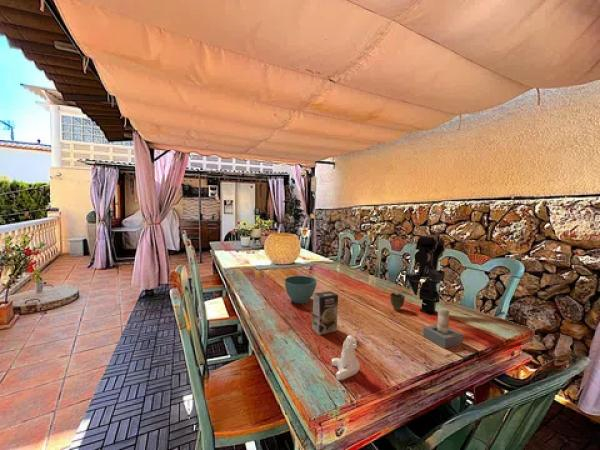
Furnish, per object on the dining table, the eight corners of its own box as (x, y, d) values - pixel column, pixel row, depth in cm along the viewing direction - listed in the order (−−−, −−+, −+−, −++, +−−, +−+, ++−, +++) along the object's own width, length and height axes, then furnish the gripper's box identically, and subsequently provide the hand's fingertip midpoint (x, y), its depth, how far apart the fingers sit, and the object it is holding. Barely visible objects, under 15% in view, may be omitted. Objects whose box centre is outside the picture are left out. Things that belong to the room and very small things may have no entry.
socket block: (440, 332, 113) (440, 323, 112) (462, 343, 104) (462, 334, 103) (423, 336, 109) (423, 327, 109) (444, 348, 100) (445, 338, 99)
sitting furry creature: (330, 363, 88) (331, 328, 88) (354, 362, 89) (356, 328, 89) (336, 381, 79) (338, 343, 78) (364, 380, 80) (365, 342, 79)
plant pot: (321, 299, 151) (322, 279, 150) (305, 309, 136) (306, 286, 135) (295, 293, 161) (296, 274, 160) (277, 302, 145) (278, 280, 145)
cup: (403, 308, 141) (404, 293, 140) (404, 313, 134) (405, 297, 133) (389, 306, 143) (390, 292, 143) (389, 310, 136) (390, 296, 136)
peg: (438, 336, 109) (439, 307, 108) (449, 340, 106) (450, 310, 106) (435, 340, 106) (436, 310, 105) (446, 343, 103) (447, 313, 103)
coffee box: (319, 335, 108) (320, 297, 107) (311, 329, 113) (312, 292, 112) (337, 331, 112) (338, 294, 111) (329, 325, 118) (330, 290, 117)
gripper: (423, 264, 114) (421, 300, 113) (454, 265, 120) (452, 299, 120) (405, 260, 124) (403, 293, 124) (434, 262, 131) (432, 293, 130)
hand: (423, 294), depth 124 cm, fingers open, 9 cm apart
